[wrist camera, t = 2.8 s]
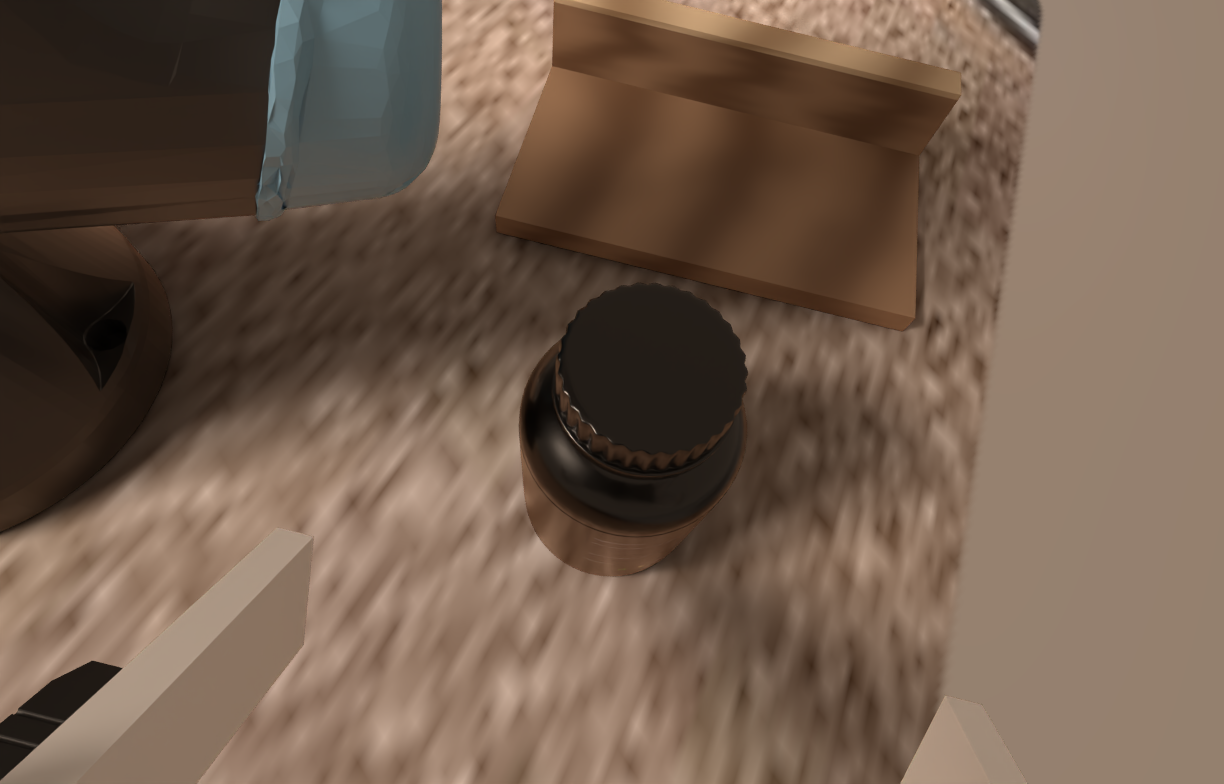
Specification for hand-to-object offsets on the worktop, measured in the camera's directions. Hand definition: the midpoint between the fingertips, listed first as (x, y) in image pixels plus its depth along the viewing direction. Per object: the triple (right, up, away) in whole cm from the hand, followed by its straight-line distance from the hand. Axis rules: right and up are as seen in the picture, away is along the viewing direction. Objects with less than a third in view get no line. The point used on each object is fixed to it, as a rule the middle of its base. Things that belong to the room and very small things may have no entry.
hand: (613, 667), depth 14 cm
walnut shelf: (+5, +16, +21) cm, 27 cm away
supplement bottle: (0, +1, +14) cm, 14 cm away
